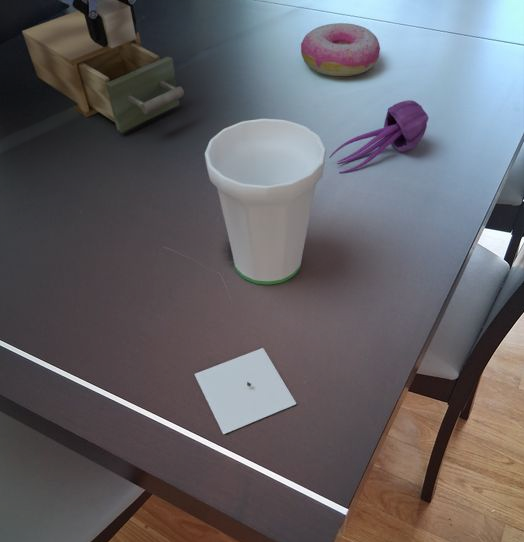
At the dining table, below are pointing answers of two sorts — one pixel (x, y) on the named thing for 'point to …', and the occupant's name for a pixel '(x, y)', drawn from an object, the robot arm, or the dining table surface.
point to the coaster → (244, 390)
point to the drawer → (129, 84)
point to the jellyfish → (392, 132)
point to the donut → (340, 49)
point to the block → (116, 22)
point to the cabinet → (64, 55)
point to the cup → (266, 193)
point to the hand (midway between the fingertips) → (114, 36)
